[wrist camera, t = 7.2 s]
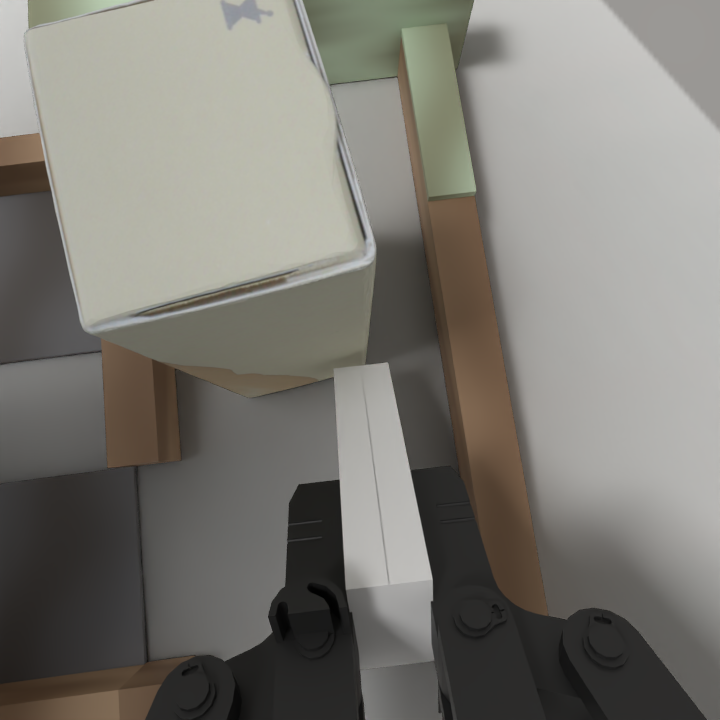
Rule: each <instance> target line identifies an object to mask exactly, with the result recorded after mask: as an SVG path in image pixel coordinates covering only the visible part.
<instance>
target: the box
mask: <svg viewBox="0 0 720 720" xmlns="http://www.w3.org/2000/svg"><path fill="white" fill-rule="evenodd" d="M24 47H25V53H26V58H27V65H28V71H29V77H30V82H31V87H32V92H33V99H34V107H35V111H36V115H37V121H38V128H39V133H40V137H41V142H42V148H43V154H44V159H45V164H46V169H47V174H48V178H49V182H50V187H51V191H52V196H53V202H54V207H55V212H56V216H57V220H58V224H59V229H60V233H61V238H62V242H63V247H64V251H65V256H66V261H67V265H68V270H69V274H70V279H71V283H72V287H73V291H74V295H75V299H76V303H77V308H78V313H79V319H80V323H81V325H82V328H83V330H84V331H85V332H87V333H89V334H91V335H94V336H96V337H99V338H102V339H104V340H106V341H109V342H111V343H114V344H117V345H119V346H122V347H124V348H126V349H129V350H131V351H134V352H136V353H139V354H141V355H143V356H146V357H148V358H151V359H154V360H156V361H158V362H161V363H164V364H166V365H168V366H171V367H173V368H176V369H178V370H181V371H183V372H185V373H187V374H190V375H192V376H195V377H198V378H200V379H203V380H206V381H208V382H210V383H213V384H215V385H217V386H220V387H222V388H225V389H227V390H230V391H232V392H235V393H237V394H240V395H242V396H245V397H247V398H252V397H257V396H261V395H265V394H269V393H274V392H278V391H282V390H286V389H290V388H294V387H298V386H302V385H306V384H310V383H314V382H317V381H321V380H325V379H328V378H332V377H334V370H333V369H334V368H343V367H352V366H360V365H365V363H366V354H367V345H368V337H369V326H370V316H371V307H372V297H373V288H374V279H375V268H376V243H375V239H374V235H373V231H372V228H371V224H370V221H369V217H368V213H367V210H366V206H365V202H364V199H363V195H362V191H361V188H360V184H359V180H358V177H357V174H356V170H355V167H354V164H353V160H352V157H351V154H350V151H349V147H348V144H347V141H346V137H345V134H344V131H343V127H342V124H341V121H340V118H339V114H338V111H337V108H336V104H335V101H334V98H333V94H332V91H331V88H330V85H329V81H328V78H327V75H326V72H325V69H324V66H323V63H322V59H321V56H320V53H319V50H318V47H317V44H316V41H315V38H314V35H313V32H312V28H311V25H310V22H309V19H308V16H307V13H306V10H305V7H304V4H303V0H134V1H130V2H127V3H123V4H118V5H114V6H110V7H107V8H103V9H99V10H96V11H92V12H89V13H85V14H82V15H78V16H74V17H70V18H66V19H63V20H59V21H54V22H50V23H45V24H40V25H37V26H35V27H32V28H30V29H28V30H26V32H25V33H24Z"/></svg>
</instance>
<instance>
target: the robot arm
mask: <svg viewBox="0 0 720 720" xmlns="http://www.w3.org/2000/svg"><path fill="white" fill-rule="evenodd" d="M333 370H334V388H335V406H336V423H337V441H338V459H339V477H340V480H334V481H325V482H316V483H308V484H299V485H298V487H297V489H296V491H295V493H294V495H293V497H292V499H291V500H290V502H289V517H288V525H289V527H288V539H287V540H288V544H287V560H286V582H285V587H284V588H282V589H281V590H280V591H279V593H278V594H277V596H276V597H275V598H274V600H273V601H272V603H271V607H270V611H269V615H268V618H269V621H270V624H271V627H272V630H273V632H272V634H271V635H270V636H269V637H268V638H266V639H265V640H264V641H263V642H262V643H260V644H259V645H257V646H255V647H254V648H252V649H250V650H248V651H246V652H244V653H242V654H240V655H237V656H235V657H233V658H231V659H229V660H227V661H225V662H224V661H223V660H222V659H219V658H216V657H214V656H211V655H207V656H195V657H193V658H191V659H189V660H187V661H184V662H182V663H180V664H179V665H178V666H177V667H176V668H175V669H174V670H173V671H171V672H170V673H169V674H168V675H167V677H166V678H165V680H164V681H163V683H162V685H161V686H160V688H159V689H158V691H157V693H156V696H155V698H154V700H153V702H152V705H151V707H150V709H149V712H148V714H147V716H146V718H145V720H365V712H364V702H363V696H362V689H361V674H360V670H365V669H373V668H382V667H390V666H398V665H407V664H415V663H423V662H432V661H434V660H435V665H436V671H437V676H438V704H439V713H442V717H443V720H707V719H706V718H705V717H704V715H703V714H702V713H701V712H700V710H699V709H698V708H697V706H696V705H695V704H694V703H693V701H692V700H691V699H690V697H689V696H688V695H687V694H686V692H685V691H684V690H683V688H682V687H681V686H680V685H679V683H678V682H677V681H676V679H675V678H674V677H673V676H672V674H671V673H670V672H669V671H668V669H667V668H666V667H665V665H664V664H663V663H662V662H661V660H660V659H659V658H658V656H657V655H656V654H655V653H654V651H653V650H652V649H651V647H650V646H649V645H648V644H647V642H646V641H645V640H644V638H643V637H642V636H641V635H640V633H639V632H638V631H637V630H636V629H635V628H634V627H633V626H632V625H631V624H630V623H629V622H628V621H627V620H625V619H624V618H622V617H620V616H618V615H616V614H614V613H613V612H611V611H607V610H602V609H597V608H589V609H583V610H579V611H577V612H576V613H574V614H573V615H572V616H570V617H569V618H568V620H565V619H560V618H555V617H550V616H545V615H541V614H536V613H533V612H530V611H527V610H524V609H522V608H521V607H519V606H517V605H515V604H514V603H512V602H511V601H510V600H509V599H508V598H507V597H505V595H504V594H503V593H502V592H501V590H500V589H499V588H498V586H497V584H496V581H495V579H494V577H493V573H492V570H491V567H490V564H489V561H488V557H487V554H486V551H485V548H484V545H483V541H482V538H481V535H480V532H479V529H478V525H477V522H476V520H475V516H474V512H473V509H472V506H471V505H470V500H469V496H468V493H467V490H466V487H465V484H464V481H463V480H462V479H461V478H460V477H459V476H458V474H457V473H456V472H455V471H454V470H453V469H452V468H451V467H450V466H444V467H436V468H427V469H418V470H410V467H409V462H408V457H407V452H406V447H405V443H404V438H403V433H402V428H401V423H400V418H399V413H398V409H397V404H396V399H395V394H394V389H393V384H392V379H391V375H390V370H389V365H388V362H387V363H378V364H369V365H360V366H352V367H343V368H334V369H333Z"/></svg>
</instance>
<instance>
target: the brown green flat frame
mask: <svg viewBox="0 0 720 720" xmlns="http://www.w3.org/2000/svg"><path fill="white" fill-rule="evenodd" d="M130 1H134V0H28V23H29V29H30V28H32V27H35V26H37V25H40V24H45V23H50V22H54V21H59V20H63V19H66V18H70V17H74V16H78V15H82V14H85V13H89V12H92V11H96V10H99V9H103V8H107V7H110V6H114V5H118V4H123V3H127V2H130ZM473 3H474V0H303V4H304V7H305V10H306V13H307V16H308V19H309V22H310V25H311V28H312V32H313V35H314V38H315V41H316V44H317V47H318V50H319V53H320V56H321V59H322V63H323V66H324V69H325V72H326V75H327V78H328V81H329V84H337V83H345V82H353V81H362V80H370V79H378V78H387V77H395V76H397V77H398V83H399V89H400V96H401V102H402V109H403V115H404V121H405V128H406V134H407V141H408V147H409V153H410V160H411V166H412V173H413V179H414V185H415V192H416V198H417V205H418V211H419V217H420V224H421V230H422V236H423V243H424V249H425V256H426V262H427V268H428V275H429V281H430V288H431V294H432V300H433V307H434V313H435V320H436V326H437V332H438V339H439V345H440V352H441V358H442V364H443V371H444V377H445V384H446V390H447V396H448V403H449V409H450V415H451V422H452V428H453V435H454V441H455V447H456V454H457V460H458V467H459V473H460V478H461V479H462V480H463V481H464V484H465V487H466V490H467V493H468V496H469V500H470V505H471V506H472V509H473V512H474V516H475V520H476V522H477V525H478V529H479V532H480V535H481V538H482V541H483V545H484V548H485V551H486V554H487V557H488V561H489V564H490V567H491V570H492V573H493V577H494V579H495V581H496V584H497V586H498V588H499V589H500V590H501V592H502V593H503V594H504V595H505V597H507V598H508V599H509V600H510V601H511V602H512V603H514V604H515V605H517V606H519V607H521V608H522V609H524V610H527V611H530V612H533V613H536V614H541V615H545V616H548V610H547V605H546V599H545V593H544V588H543V582H542V576H541V570H540V565H539V559H538V553H537V548H536V542H535V536H534V531H533V525H532V519H531V514H530V508H529V502H528V497H527V491H526V485H525V480H524V474H523V468H522V463H521V457H520V451H519V445H518V440H517V434H516V428H515V423H514V417H513V411H512V406H511V400H510V394H509V389H508V383H507V377H506V372H505V366H504V360H503V355H502V349H501V343H500V337H499V332H498V326H497V320H496V315H495V309H494V303H493V298H492V292H491V286H490V281H489V275H488V269H487V264H486V258H485V252H484V247H483V241H482V235H481V230H480V224H479V218H478V212H477V207H476V201H475V194H476V186H475V180H474V174H473V169H472V163H471V157H470V152H469V146H468V140H467V135H466V129H465V123H464V118H463V112H462V106H461V101H460V95H459V89H458V84H457V78H456V72H455V69H457V68H458V64H459V60H460V56H461V52H462V48H463V44H464V40H465V36H466V31H467V27H468V23H469V19H470V15H471V11H472V7H473ZM99 351H102V368H103V389H104V409H105V430H106V450H107V468H117V467H125V468H118V469H110V470H102V471H94V472H87V473H79V474H71V475H64V476H56V477H48V478H41V479H33V480H25V481H18V482H10V483H2V484H0V720H145V718H146V716H147V714H148V712H149V709H150V707H151V705H152V702H153V700H154V698H155V696H156V693H157V691H158V689H159V688H160V686H161V685H162V683H163V681H164V680H165V678H166V677H167V675H168V674H169V673H170V672H171V671H173V670H174V669H175V668H176V667H177V666H178V665H179V664H180V663H182V662H184V661H187V660H189V659H191V658H193V657H195V655H194V656H187V657H180V658H172V659H165V660H158V661H150V662H147V652H146V634H145V617H144V599H143V582H142V565H141V547H140V530H139V513H138V495H137V478H136V466H142V465H150V464H157V463H165V462H173V461H180V460H181V449H180V435H179V421H178V407H177V393H176V379H175V368H173V367H171V366H168V365H166V364H164V363H161V362H158V361H156V360H154V359H151V358H148V357H146V356H143V355H141V354H139V353H136V352H134V351H131V350H129V349H126V348H124V347H122V346H119V345H117V344H114V343H111V342H109V341H106V340H104V339H102V338H99V337H96V336H94V335H91V334H89V333H87V332H85V331H84V330H83V328H82V325H81V323H80V319H79V313H78V308H77V303H76V299H75V295H74V291H73V287H72V283H71V279H70V274H69V270H68V265H67V261H66V256H65V251H64V247H63V242H62V238H61V233H60V229H59V224H58V220H57V216H56V212H55V207H54V202H53V196H52V191H51V187H50V182H49V178H48V174H47V169H46V164H45V159H44V154H43V148H42V142H41V137H40V133H36V134H28V135H20V136H11V137H3V138H0V364H4V363H12V362H20V361H28V360H36V359H44V358H52V357H60V356H68V355H75V354H83V353H91V352H99ZM132 466H133V467H132Z"/></svg>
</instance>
